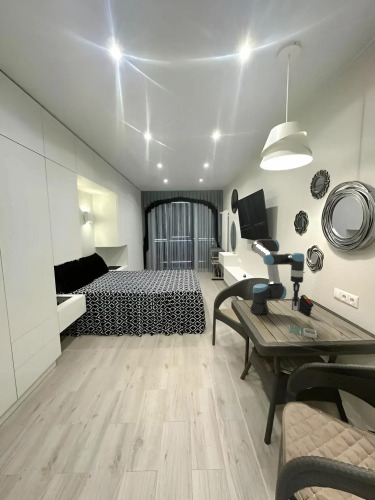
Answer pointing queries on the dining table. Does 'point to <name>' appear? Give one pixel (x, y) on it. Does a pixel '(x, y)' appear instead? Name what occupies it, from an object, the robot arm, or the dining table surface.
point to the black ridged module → (305, 305)
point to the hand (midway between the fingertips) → (295, 308)
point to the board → (303, 331)
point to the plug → (298, 304)
